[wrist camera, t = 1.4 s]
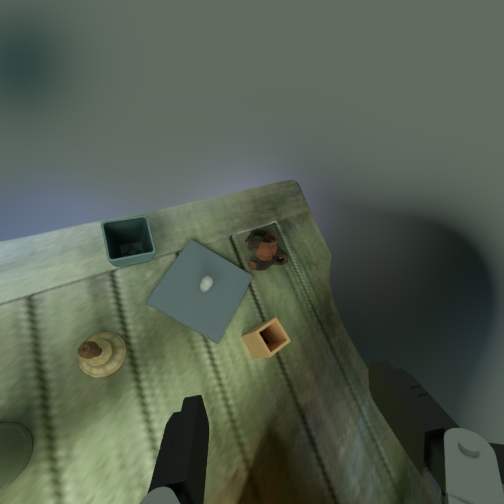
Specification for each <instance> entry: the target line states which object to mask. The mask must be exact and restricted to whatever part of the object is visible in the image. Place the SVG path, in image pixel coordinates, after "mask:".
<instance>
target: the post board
mask: <svg viewBox="0 0 504 504" xmlns="http://www.w3.org/2000/svg"><path fill="white" fill-rule="evenodd" d="M252 277H253V276H252V275H250V274H249V273H247V272H245V271H244V270H242V269H240V268H239V267H237V266H235V265H234V264H232V263H230V262H229V261H227V260H225V259H224V258H222V257H220V256H219V255H217V254H215V253H213V252H212V251H210V250H208V249H207V248H205V247H203V246H202V245H200V244H198V243H197V242H195V241H193V240H192V239H190V241H189V242H188V243H187V245H186V246H185V248H184V249H183V250H182V252H181V253H180V255H179V256H178V257H177V259H176V260H175V261H174V263H173V264H172V266H171V267H170V268H169V270H168V271H167V273H166V274H165V275H164V277H163V278H162V280H161V281H160V282H159V284H158V285H157V287H156V288H155V289H154V291H153V292H152V294H151V295H150V296H149V298H148V299H147V300H146V304H148V305H150V306H151V307H153V308H155V309H157V310H158V311H160V312H162V313H164V314H165V315H167V316H169V317H171V318H172V319H174V320H176V321H178V322H180V323H181V324H183V325H185V326H187V327H188V328H190V329H192V330H194V331H195V332H197V333H199V334H201V335H203V336H204V337H206V338H208V339H210V340H211V341H213V342H215V343H217V344H218V343H219V341H220V340H221V338H222V336H223V334H224V332H225V330H226V328H227V326H228V324H229V322H230V320H231V318H232V316H233V314H234V312H235V310H236V309H237V307H238V305H239V303H240V301H241V299H242V297H243V295H244V293H245V291H246V289H247V287H248V285H249V283H250V281H251V279H252Z"/></svg>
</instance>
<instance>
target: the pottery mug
mask: <svg viewBox="0 0 504 504" xmlns="http://www.w3.org/2000/svg"><path fill="white" fill-rule="evenodd" d="M267 232H268V231H267V230H263V229H257V230H253V231H252V232H251V234H250V235H249V236H248V238H247V239H246V240H245V242H247V241H249V243H248V249H249V250H250V251H251V250H252V248H255V247H258V249H257V251H256V252H255V255H256V257H257V263H256V262H253V261H251V260H250V261H249V267H251V268H253V269H256V270H266V269H268V268H269V267H270V266H271V265H272V264H276V265H283V264H285V263H287V262H288V254H287V253H286V252H285V251H283V250H281V249H280V247H278V246H279V245H278V237H277V236H276V235H275V234H274V233H271V235H269V234H266V233H267ZM256 235H258V236H261V237H263V238H264V241H265V242H270V238H272V239H273V240H274V242H271V243H265V242H261V241H259V240H257V239H256V238H255V237H254V236H256ZM272 256H274V257H272ZM278 256H281V257H283V258H282V259H279V258H278Z"/></svg>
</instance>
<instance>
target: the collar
mask: <svg viewBox="0 0 504 504" xmlns="http://www.w3.org/2000/svg"><path fill="white" fill-rule="evenodd" d="M261 331H262V332H263V334H264V336H265V337H266V339H267V341H268V342H269V344H268V345H266V344H265V342H264V340H263V339H262V337H261V335H260V334H259V332H261ZM241 337H242V339H243V341H244V342H245V344H246V346H247V347H248V349H249V351H250V353H251V354H252V356H253V358H266V357H271V356H272V355H274V354H275V353H276V352H277V351H279V350H280V349H281V348H283V347H284V346H285V345H286V344H288V343H289V342H290V341H291V340H290V339H289V337H288V335H287V334H286V332H285V331H284V329H283V327H282V326H281V324H280V323H279V321H278V319H277V318H276V317H275V318H272V319H270V320H268V321H265V322H263V323H260V324H259V325H257V326H256V327H254V328H253V329H251V330H250V331H248V332H247V333H246V334H244V335H243V336H241Z"/></svg>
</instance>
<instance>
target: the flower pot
mask: <svg viewBox="0 0 504 504" xmlns="http://www.w3.org/2000/svg"><path fill="white" fill-rule="evenodd" d="M101 228H102V232H103V237H104V242H105V247H106V253H107V259H108V261H109V262H110V263H111V264H112V265H114V266H115V267H123V266H128V265H133V264H138V263H142V262H148V261H151V260H153V258H154V256H155V252H156V249H155V245H154V242H153V238H152V234H151V230H150V226H149V221H148V217H147V216H145V215H144V216H137V217H131V218H124V219H117V220H109V221H103V222H101ZM130 246H133V247H132V248H131V247H130ZM139 251H142V252H141V253H140V252H139ZM125 253H126V255H124V254H125Z"/></svg>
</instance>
